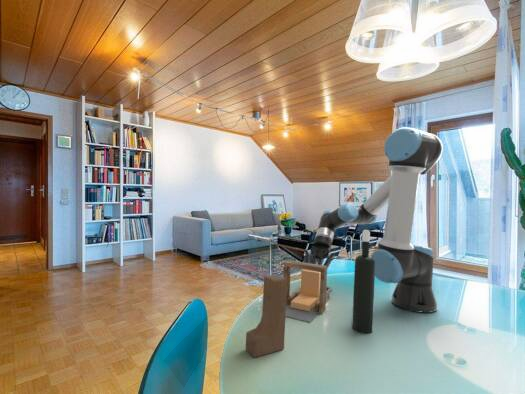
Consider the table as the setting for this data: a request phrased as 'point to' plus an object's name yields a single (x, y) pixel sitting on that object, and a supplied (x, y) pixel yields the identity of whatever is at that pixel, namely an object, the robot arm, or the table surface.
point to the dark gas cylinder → (363, 288)
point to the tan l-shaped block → (308, 291)
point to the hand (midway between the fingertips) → (309, 288)
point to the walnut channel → (324, 296)
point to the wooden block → (270, 319)
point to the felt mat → (300, 314)
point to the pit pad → (328, 289)
